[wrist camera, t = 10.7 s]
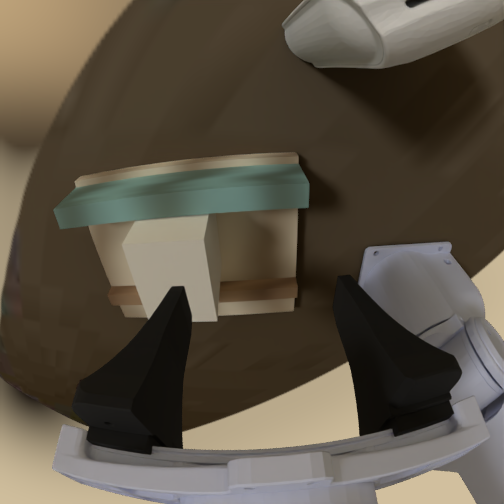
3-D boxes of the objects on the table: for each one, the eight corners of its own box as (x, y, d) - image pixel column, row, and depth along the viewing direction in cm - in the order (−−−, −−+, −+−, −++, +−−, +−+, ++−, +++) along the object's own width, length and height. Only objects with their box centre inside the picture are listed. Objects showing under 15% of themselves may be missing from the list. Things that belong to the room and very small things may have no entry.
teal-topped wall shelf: (296, 152, 19) (309, 174, 16) (292, 303, 27) (299, 341, 24) (80, 176, 19) (50, 202, 16) (128, 309, 27) (116, 345, 24)
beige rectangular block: (213, 191, 20) (203, 239, 15) (222, 268, 23) (218, 326, 19) (150, 196, 20) (121, 244, 15) (167, 270, 23) (151, 327, 18)
